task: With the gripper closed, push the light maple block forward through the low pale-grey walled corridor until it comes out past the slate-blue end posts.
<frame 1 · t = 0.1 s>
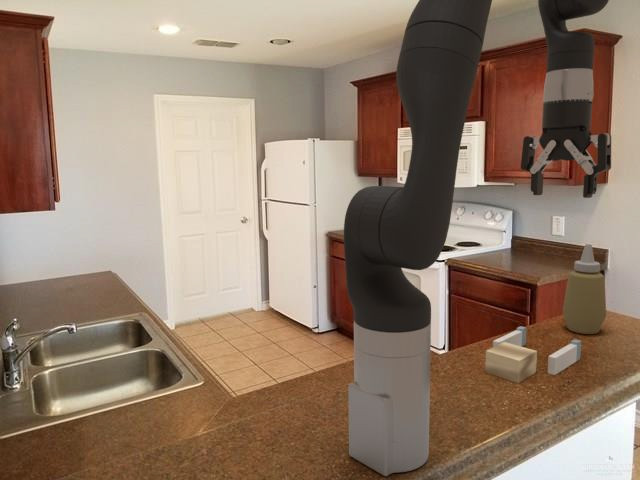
hand: (562, 196, 90), 29 cm above the table, fingers open, 8 cm apart
maple block: (510, 373, 89), on the table
squeeze bottle: (582, 331, 109), on the table
corridor: (535, 357, 95), on the table
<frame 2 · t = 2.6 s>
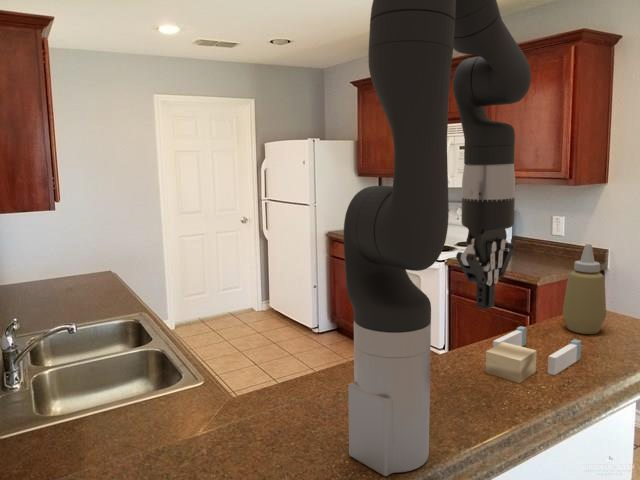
hand: (485, 307, 81), 13 cm above the table, fingers closed
nothing on the table moved.
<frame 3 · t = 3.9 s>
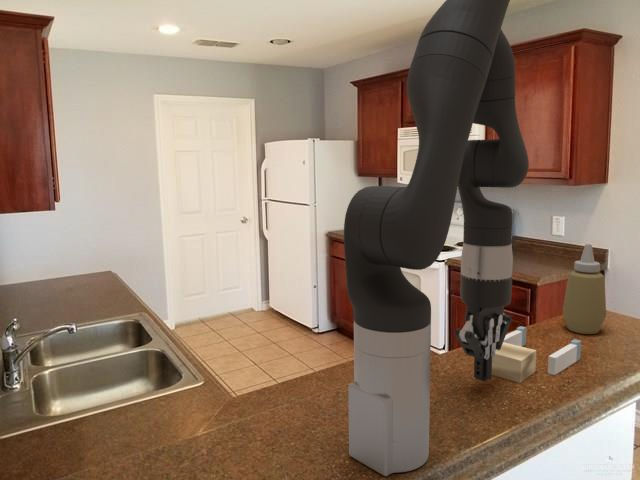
hand: (482, 378, 83), 2 cm above the table, fingers closed
nothing on the table moved.
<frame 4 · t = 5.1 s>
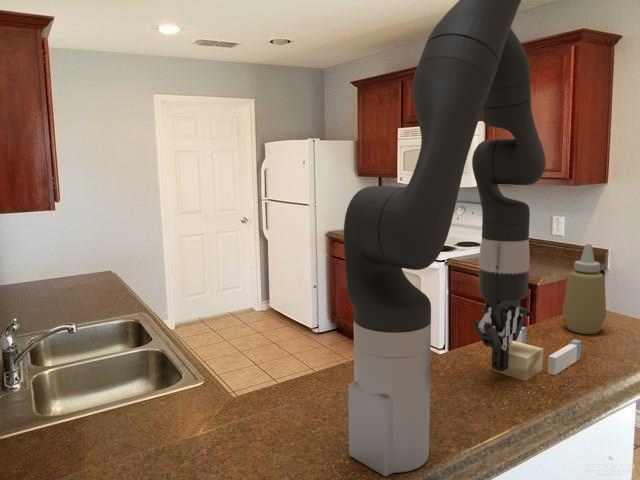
hand: (499, 368, 86), 2 cm above the table, fingers closed
maple block: (516, 370, 89), on the table, touching gripper
everything else where it was.
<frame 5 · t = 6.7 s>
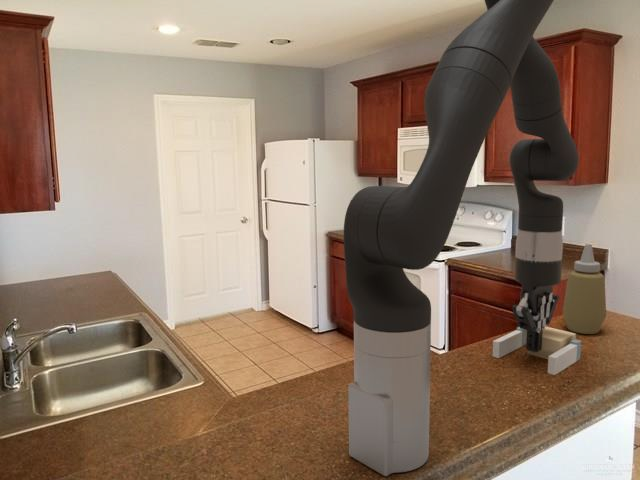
hand: (533, 350, 94), 2 cm above the table, fingers closed
maple block: (550, 354, 96), on the table, touching gripper
everything else where it was.
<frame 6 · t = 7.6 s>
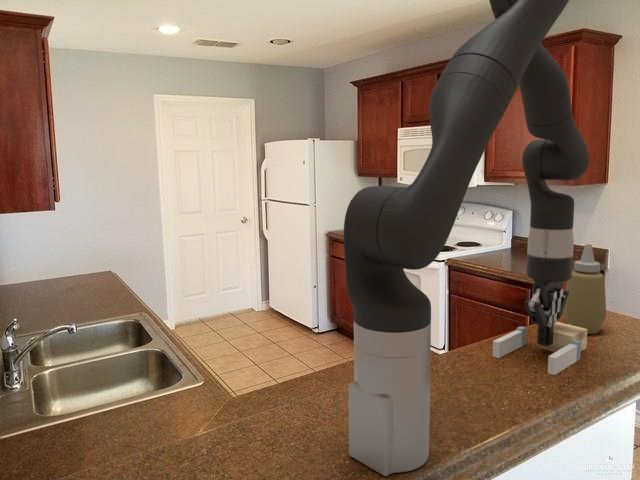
hand: (545, 344, 96), 2 cm above the table, fingers closed
maple block: (562, 349, 99), on the table, touching gripper
everything else where it was.
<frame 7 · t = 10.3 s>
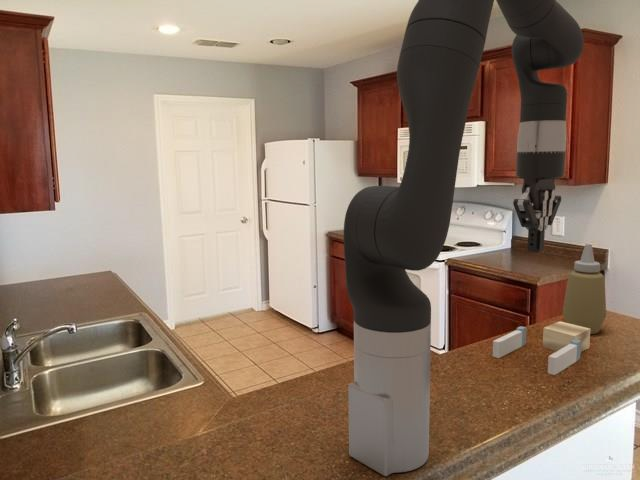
hand: (535, 251, 90), 20 cm above the table, fingers closed
maple block: (565, 348, 99), on the table
everything else where it was.
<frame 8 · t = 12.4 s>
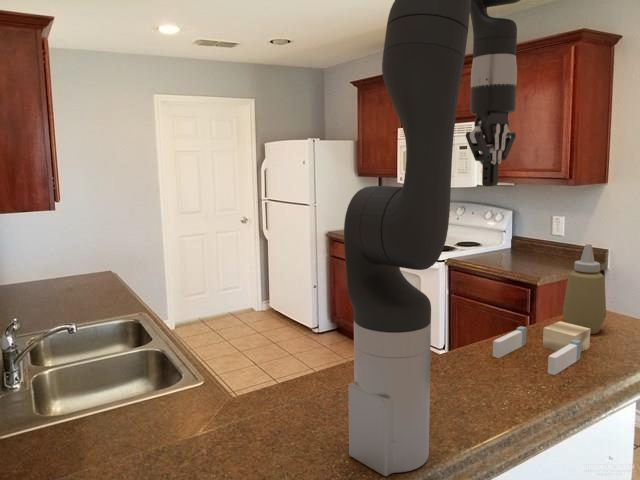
hand: (489, 185, 93), 31 cm above the table, fingers closed
nothing on the table moved.
at the end: maple block inside the target area (2.8 cm from its centre), on the table; maple block tilted 0°; squeeze bottle moved 0.2 cm from its start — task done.
